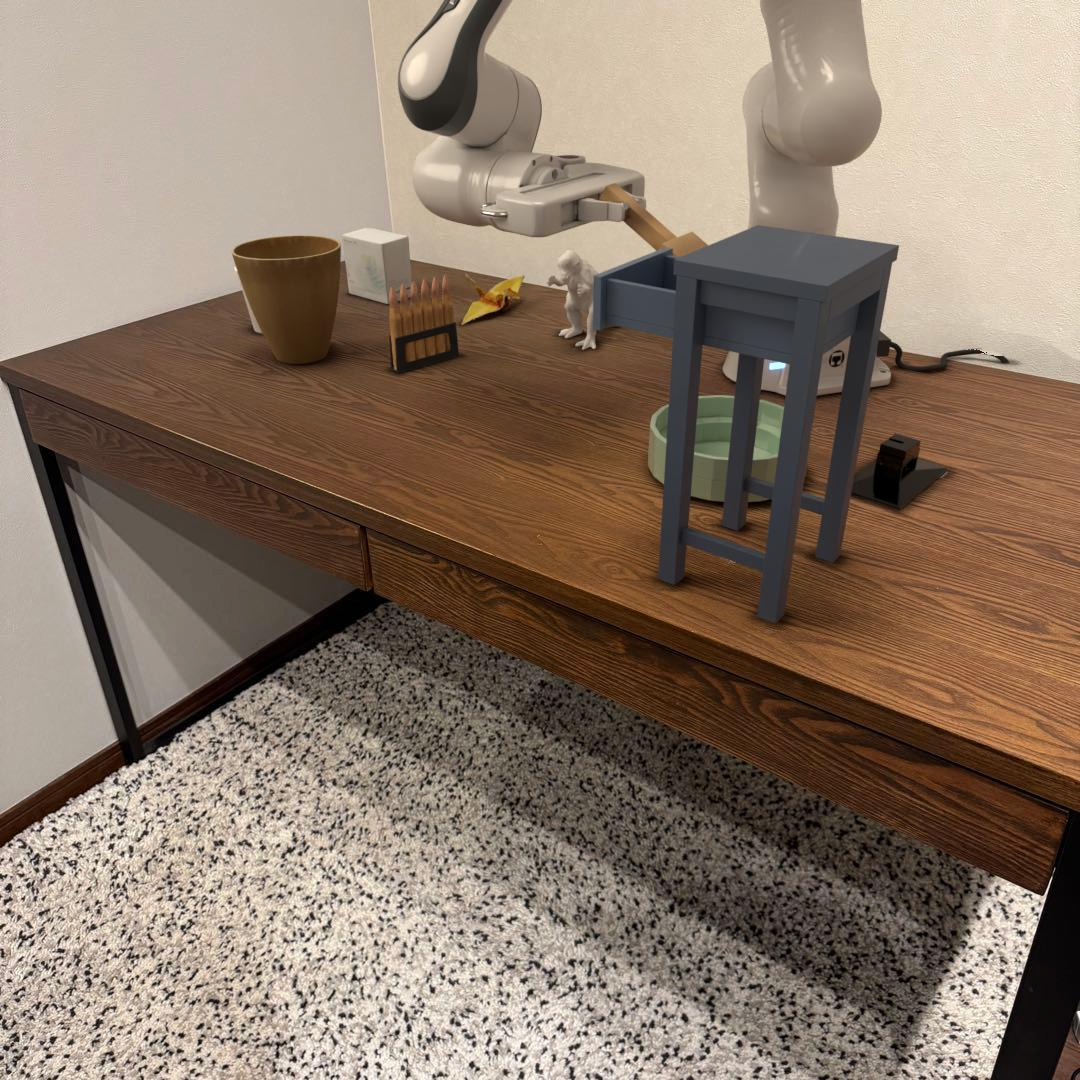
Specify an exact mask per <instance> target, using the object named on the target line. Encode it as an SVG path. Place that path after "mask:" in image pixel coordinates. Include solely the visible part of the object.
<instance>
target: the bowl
mask: <svg viewBox="0 0 1080 1080" xmlns="http://www.w3.org/2000/svg"><path fill="white" fill-rule="evenodd" d="M734 397H735V395H726V394H725V395H723V394H716V395H715V394H714V395H699V397H698V410H697V422H696V435H695V448H694V460H693V473H692V486H691V497H694V498H698V499H702V500H706V501H711V502H722V503H724V497H725V487H726V477H727V467H728V457H729V447H730V437H731V427H732V417H733V407H734ZM668 409H669V403H668V404H666V405H665V404H664V405H662V406H661V407H660V408H659V409H658V410H657V411H656V412H654V413H653V414H652V415H651V419H650V423H649V432H648V433H649V434H648V435H649V436H648V450H647V451H648V452H647V454H648V455H647V466H648V469H649V470H650V471H649V472H651V475H652V477H654V478H655V479H656V480H657V481H658V482H660V483H661V484H663V485H664V474H665V458H666V441H667V425H668ZM783 412H784V405H781V404H777V403H774V402H771V401H768V400H765V399H760V402H759V410H758V419H757V428H756V436H755V445H754V454H753V462H752V471H751V477H754V478H757V479H761V480H764V481H767V482H771V483H774V481H775V474H776V466H777V458H778V451H779V443H780V435H781V427H782V420H783ZM811 441H812V437H811V438H810V443H811ZM810 449H811V444H810V445H809V450H810ZM809 454H810V451H809V452H808V456H810V455H809ZM808 462H809V457H808V458H807V463H808ZM807 468H808V464H807V465H806V470H807ZM806 474H807V471H806V472H805V477H806ZM768 500H769V499H768V498H765V497H761V496H758V495H755V494H752V493H749V497H748V503H753V502H764V501H768Z"/></svg>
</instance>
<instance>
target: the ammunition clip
mask: <svg viewBox="0 0 1080 1080" xmlns="http://www.w3.org/2000/svg"><path fill="white" fill-rule="evenodd" d="M420 298H421V300H420ZM399 303H400V304H399ZM388 305H389V318H388V319H389V320H388V321H389V331H390V334H389V335H388V339H389V340H388V341H389V355H390V356H389V357H390V358H389V359H390V370H392V371H394V372H395V373H398V374H402V373H405V372H409V371H412V370H415V369H418V368H422V367H426V366H429V365H430V366H431V365H433V364H436V363H440V362H444V361H447V360H451V359H454V358H457V357H459V356H460V351H459V341H458V332H457V331H458V329H457V322H455V316H454V314H455V313H454V303H453V300H452V293H451V285H450V280H449V277H448V275H447V274H446V273H444V275H443V278H442V283H441V288H440V285H439V281H438V278H437V277H436V276H433V279H432V283H431V296H430V289H429V285H428V282H427V280H426V279H425V278H423V279H422V282H421V287H420V294H419V290H418V286H417V284H416V282H415V280H412V286H411V297H410V298H408V294H407V290H406V287H405V285H404V284H402V286H401V290H400V301H398V300H397V295H396V292H395V289H394V287H393V286H391V289H390V294H389V304H388Z"/></svg>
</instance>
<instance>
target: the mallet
mask: <svg viewBox="0 0 1080 1080" xmlns="http://www.w3.org/2000/svg"><path fill="white" fill-rule="evenodd" d="M599 200H600V201H608V202H613V201H621V202H627V203H628V204H629V206H630V210H629V218H628V219H626V220H624V221H623V223H625V225H627V226H628V227H629V228H630V229H631V230H633V232H634V233H636V234H637V235H638V236H639V237H640V238H641V239H643V240H644V241H645V242H646V243H647V244H648V245H649V246H650V247H652V249H654V250H655V251H658V250H660V249H663V248H665V247H667V248H673V256H679V257H682V256H684V255H687V254H689V253H691V252H694V251H696V250H699V249H701V248H704V247H706V246H708V245H709V244H708V243H706V241H704V239H702V238H700V237H699V236H698V235H697V234H696V233H695V232H694V231H690V232H687V233H684V234H682V235H679V236H676V235H675V234H674V233H673V232H672V231H671V230H670V229H669V228H667V226H665V225H664V224H663V223H662V222H661V221H659V220H658V219H657V218H656V217H655V216H653V214H651V213H650V212H649V211H648V210H647V208H646V209H645V208H643V207H642V206H641V205H640V204H639V203H638V202H637V201H635V200H634V199H633V198H632V197H631V196H630V195H629V194H627V193H626V192H625V191H624V190H623V189H622V188H621V187H619V186H618V185H617V184H616V183H614V184H610V185H607V186H606V187H605V189H604V191H603V193H602V195H601V197H600V199H599Z"/></svg>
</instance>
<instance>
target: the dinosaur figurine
mask: <svg viewBox="0 0 1080 1080" xmlns="http://www.w3.org/2000/svg"><path fill="white" fill-rule="evenodd" d="M557 268H558V270H559V273H558V274H559V276H558V278H557V277H556V276H555V274H551V275H549V277H548V278H547V281H546V284H547V287H548V288H549V287H552V285H555V286H557V287H564V286H567V290H568V291H567V294H566V296H565V299H566V301H565V303H564V305H563V306H564V307H563V308H564V310H565V312H566V318H567V320H568V321H569V323H570V324H571V327H570V328H564V329H561V330H560V333H559V334H558V337H564V339H569V338H573V337H575V336H578V335H581V334H582V333H583V331H584V330H583V329H584V323H583V314H582V312H584V313H587V314H588V315H587V317H586V329H587V331H586V337H585V338H584V339H583V340H581V341H577V342H576V343H575V345H574V346H575V347H578V348H579V347H581V350H583V351H584V350H586V349H588V348H591V349H592V350H595V349H596V348H597V345H596V335H597V330H596V329H593V288H594V275H597V274H599V272H598V271H597V270H596V269H595V266H593V265H592V264H590V263H589V262H588V260H586V259H584V258H581V257H580V255H579V254H578V253H577V252H576V251H575V250H572V249H567V250H565V252H563V253H562V254H561V255H560V256H559V258H558V259H557ZM610 327H616V326H615V325H611V326H610Z"/></svg>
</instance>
